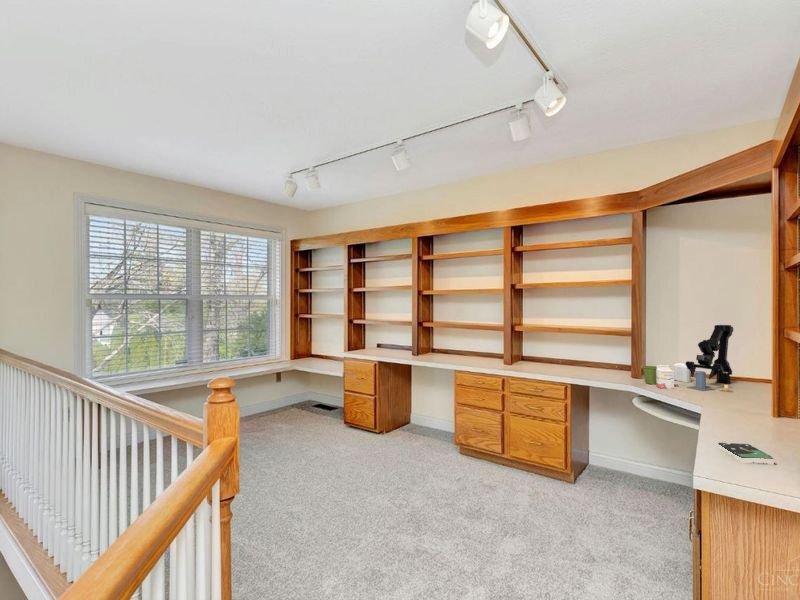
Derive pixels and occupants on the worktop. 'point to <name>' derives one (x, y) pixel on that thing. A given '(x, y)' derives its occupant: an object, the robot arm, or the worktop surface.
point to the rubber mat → (701, 389)
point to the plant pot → (650, 374)
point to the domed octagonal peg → (700, 379)
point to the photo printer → (682, 373)
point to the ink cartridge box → (664, 377)
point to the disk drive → (745, 451)
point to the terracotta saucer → (726, 389)
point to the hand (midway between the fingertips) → (700, 377)
